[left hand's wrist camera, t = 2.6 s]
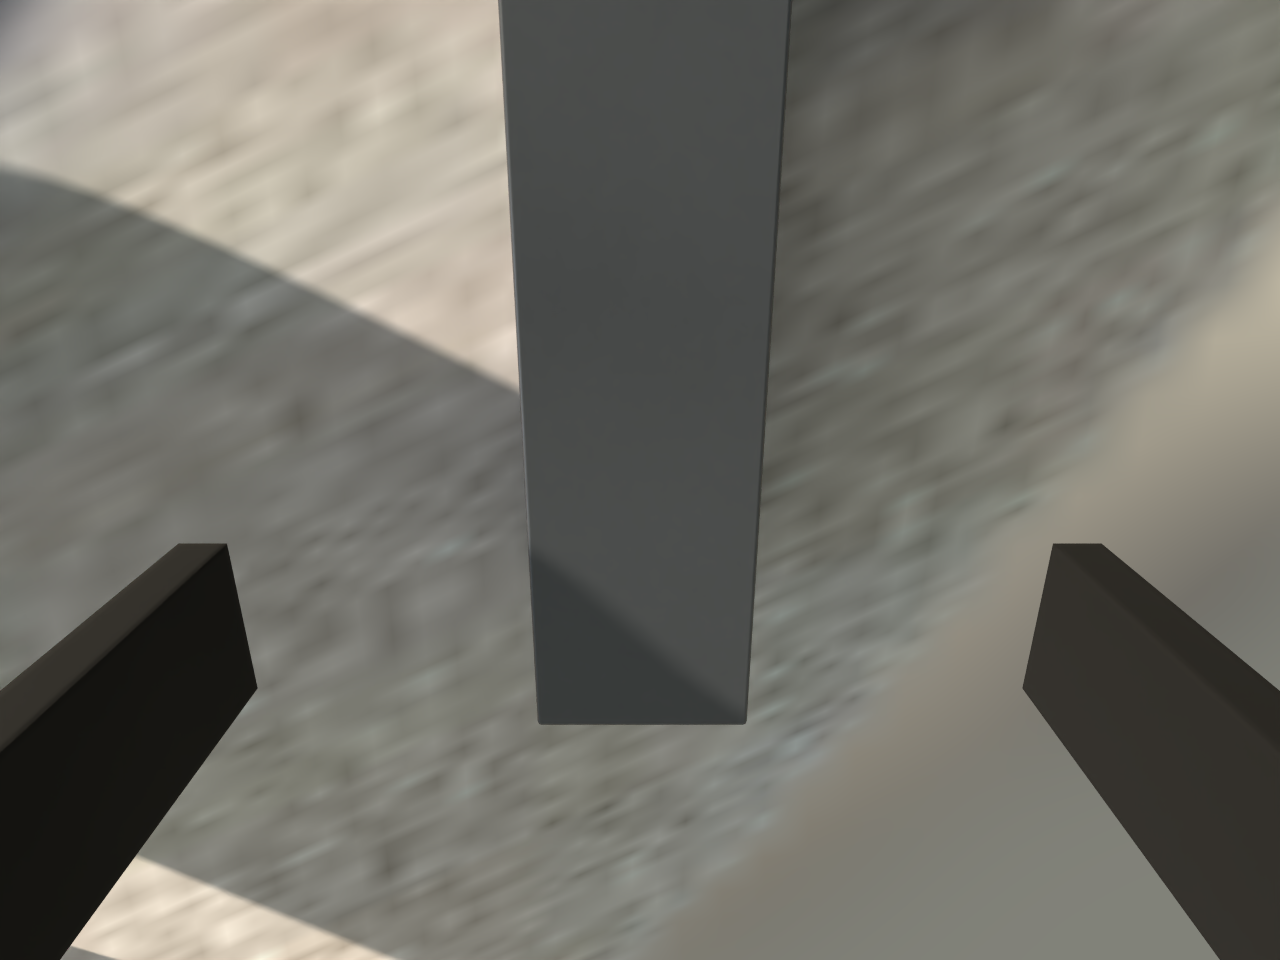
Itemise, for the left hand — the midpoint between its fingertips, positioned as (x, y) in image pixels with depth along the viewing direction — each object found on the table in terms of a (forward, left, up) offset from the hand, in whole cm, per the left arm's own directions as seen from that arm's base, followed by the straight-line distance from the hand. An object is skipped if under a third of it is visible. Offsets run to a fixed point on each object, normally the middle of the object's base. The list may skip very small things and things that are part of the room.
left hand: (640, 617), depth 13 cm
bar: (+9, +27, -14) cm, 32 cm away
